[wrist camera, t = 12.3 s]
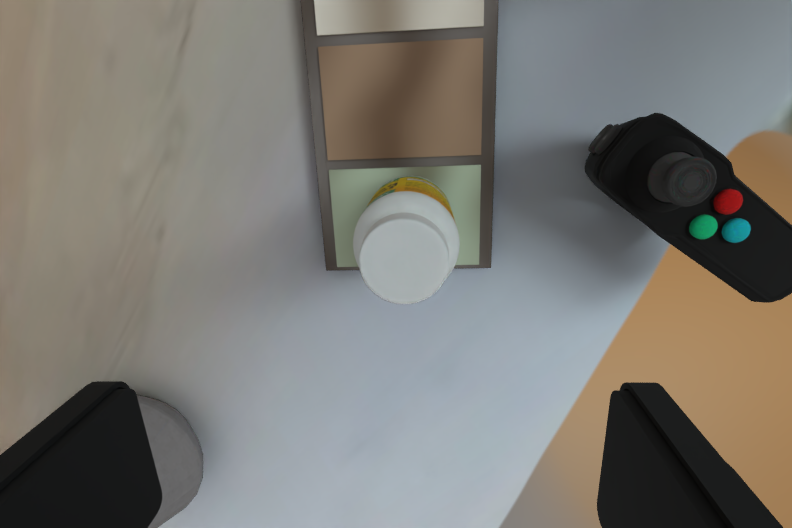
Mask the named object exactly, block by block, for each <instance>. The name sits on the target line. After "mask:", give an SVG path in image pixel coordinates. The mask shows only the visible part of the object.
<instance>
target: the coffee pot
mask: <svg viewBox="0 0 792 528" xmlns="http://www.w3.org/2000/svg"><path fill="white" fill-rule="evenodd" d="M137 398H138V402H139V406H140V410H141V414H142V417H143V421H144V425H145V429H146V432H147V436H148V440H149V444H150V448H151V451H152V455H153V459H154V463H155V467H156V470H157V474H158V478H159V482H160V485H161V489H162V503H161V507H160V509H159V511H158V513H157V515H156V516H155V518H154V519H153V521H152V522H151V524H150V525H149V527H148V528H157V527H159V526H160V525H162V524H163V523H165V522H166V521H167V520H169V519H170V518H172V517H173V516H174V515H176V514H177V513H179V512H180V511H182V510H183V509H184V508H186V507H187V506H188V504H189V503H190V502H191V501H192V499H193V498H194V497H195V496H196V495H197V492H198V489H199V487H200V484H201V481H202V478H203V453H202V450H201V446H200V443H199V440H198V438H197V436H196V435H195V433H194V432H193V430H192V428H191V427H190V425H189V423H188V422H187V420H186V419H185V418H184V417H183V416H182V415H181V414H180V413H179V412H178V411H177V410H176V409H174V408H172V407H171V406H169V405H168V404H166V403H164V402H161V401H158V400H156V399H152V398H148V397H144V396H138V395H137Z"/></svg>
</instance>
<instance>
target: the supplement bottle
mask: <svg viewBox="0 0 792 528" xmlns="http://www.w3.org/2000/svg"><path fill="white" fill-rule="evenodd" d="M459 248H460V240H459V233H458V229H457V226H456V223H455V219H454V216H453V213H452V209H451V206H450V203H449V201H448V199H447V197H446V195H445V194H444V192H443V191H442V190H441V189H440V188H439V187H438V186H437V185H436V184H435V183H433V182H431V181H429V180H428V179H425V178H422V177H418V176H404V177H399V178H395V179H393V180H391V181H389V182H387V183H385V184H384V185H383V186H381V187H380V188H379V189H378V191H377V192H376V193H375V194H374V196H373V198H372V199H371V201H370V202H369V204H368V205H367V207H366V209H365V210H364V211H363V213H362V214H361V216H360V218H359V220H358V223H357V225H356V228H355V231H354V237H353V250H354V256H355V259H356V262H357V264H358V267H359V269H360V272H361V275H362V278H363V280H364V282H365V283H366V285H367V286H368V287H369V289H370V290H371V291H372V292H373V293H375V294H376V295H377V296H379V297H380V298H382V299H384V300H386V301H388V302H392V303H396V304H413V303H417V302H420V301H423V300H425V299H427V298H429V297H430V296H432V295H433V294H434V293H435V292H436V291H437V290H438V289H439V288H440V287H441V285H442V284H443V282H444V281H445V280H446V279H447V277H448V276H449V275H450V274H451V272H452V270H453V269H454V267H455V264H456V262H457V259H458V255H459Z"/></svg>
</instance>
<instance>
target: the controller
mask: <svg viewBox="0 0 792 528" xmlns="http://www.w3.org/2000/svg"><path fill="white" fill-rule="evenodd" d="M589 151H590V152H591V153H590V155H589V156H588V158H587V160H586V163H585V172H586V174H587V176H588V177H589V179H590V180H591V181H592V182H593V183H594V184H595V185H596V186H597V187H598V188H599V189H600V190H601V191H603V192H604V193H605V194H606V195H607V196H608V197H610V198H611V199H612V200H613V201H615V202H616V203H617V204H619V205H620V206H621V207H623V208H624V209H625V210H627V211H628V212H629V213H631V214H632V215H633V216H635V217H636V218H637V219H639V220H640V221H642V222H643V223H644V224H646V225H647V226H648V227H649V228H650V229H651V230H653V231H654V232H655V233H656V234H657V235H659V236H660V237H661V238H663V239H664V240H666V241H667V242H668V243H670V244H671V245H673V246H674V247H676V248H677V249H678V250H680V251H681V252H683V253H684V254H685V255H687V256H688V257H690V258H691V259H693V260H694V261H696V262H697V263H698V264H700V265H701V266H703V267H704V268H705V269H707V270H708V271H710V272H711V273H712V274H714V275H715V276H717V277H718V278H720V279H721V280H722V281H724V282H725V283H727V284H728V285H729V286H731V287H732V288H734V289H735V290H737V291H738V292H739V293H741V294H742V295H744V296H745V297H747V298H748V299H749V300H751V301H754V302H774V301H777V300H781V299H783V298H784V297H786V296H788V295H789V294H791V293H792V225H791V224H790V223H788V222H787V221H786V220H785V219H784V218H783V217H782V216H781V215H779V214H778V213H777V212H776V211H775V210H774V209H773V208H771V207H770V206H769V205H768V204H767V203H766V202H765V201H763V200H762V199H761V198H760V197H759V196H758V195H757V194H755V193H754V192H753V191H752V190H751V189H750V188H749V187H747V186H746V185H745V184H744V183H743V182H742V181H741V180H739V179H738V178H737V177H736V176H735V175H734V172H733V168H732V164H731V162H730V161H729V160H728V159H727V158H726V157H725V156H724V155H723V154H722V153H720V152H719V151H717V150H716V149H715V148H713V147H712V146H710V145H709V144H708V143H706V142H705V141H703V140H702V139H701V138H699V137H698V136H696V135H695V134H694V133H692V132H691V131H689V130H688V129H687V128H685V127H684V126H682V125H681V124H680V123H678V122H677V121H675V120H673V119H672V118H670V117H668V116H666V115H664V114H661V113H654V114H651V115H649V116H647V117H639V118H636V119H634V120H631V121H628V122H626V123H623V124H620V125H618V124H616V125H614V126H612V125H611V124H609V125H607V126H606V127H605V128H604V129H603V130H602V131H601V132H600V133H599V134H598V136H597V137H596V138H595V139H594V141H593V142H592V143H591V145H590V146H589Z"/></svg>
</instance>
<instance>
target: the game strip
mask: <svg viewBox="0 0 792 528" xmlns="http://www.w3.org/2000/svg"><path fill="white" fill-rule="evenodd" d="M301 8H302V19H303V29H304V40H305V51H306V61H307V72H308V82H309V93H310V103H311V114H312V124H313V135H314V146H315V156H316V167H317V177H318V188H319V198H320V209H321V219H322V230H323V240H324V251H325V262H326V270H360V269H359V267H358V264H357V262H356V259H355V256H354V250H353V237H354V231H355V228H356V225H357V223H358V220H359V218H360V216H361V214H362V213H363V211H364V210H365V209H366V207H367V205H368V204H369V202H370V201H371V199H372V198H373V196H374V194H375V193H376V192H377V191H378V189H379V188H380V187H381V186H383V185H384V184H385V183H387V182H389V181H391V180H393V179H395V178H399V177H404V176H418V177H422V178H425V179H428V180H429V181H431V182H433V183H435V184H436V185H437V186H438V187H439V188H440V189H441V190H442V191H443V192H444V194H445V195H446V197H447V199H448V201H449V203H450V206H451V209H452V213H453V216H454V219H455V223H456V226H457V229H458V233H459V240H460V248H459V255H458V259H457V262H456V264H455V267H454V268H491V249H492V213H493V177H494V142H495V106H496V70H497V34H498V0H301Z"/></svg>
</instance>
